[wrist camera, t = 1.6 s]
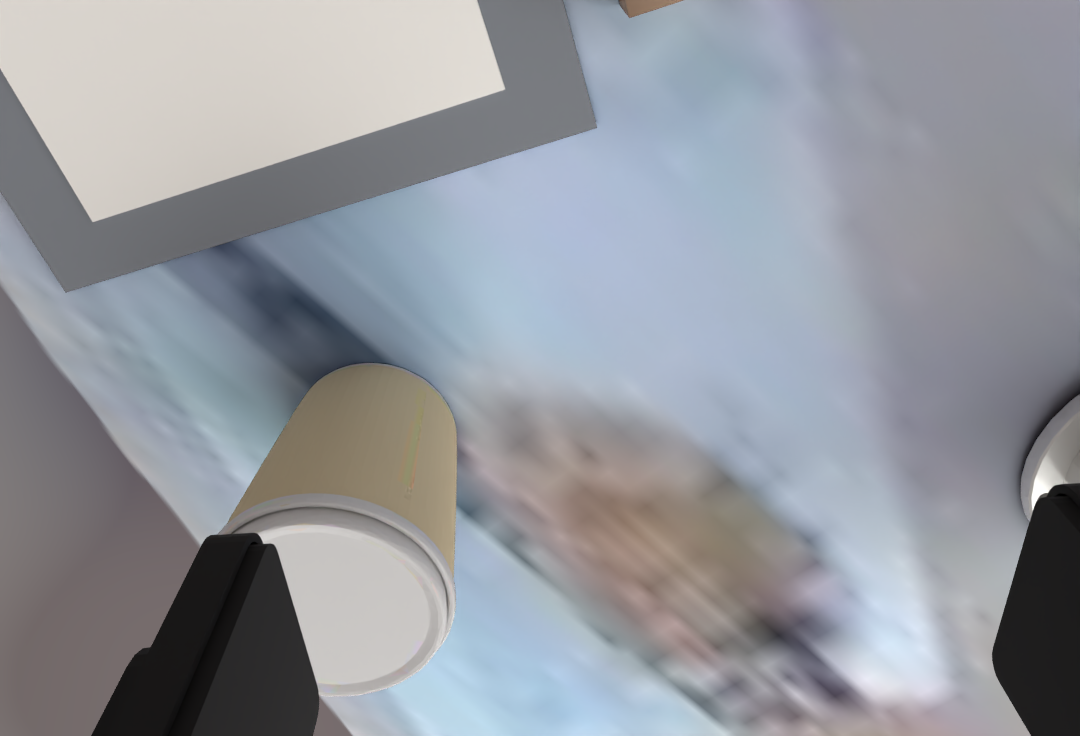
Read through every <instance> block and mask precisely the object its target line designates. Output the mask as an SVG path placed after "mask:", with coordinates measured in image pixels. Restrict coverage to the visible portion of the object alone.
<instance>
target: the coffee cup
mask: <svg viewBox="0 0 1080 736" xmlns="http://www.w3.org/2000/svg"><path fill="white" fill-rule="evenodd" d="M456 478H457V438H456V426H455V421H454V418H453V415H452V413H451V410H450V408H449V406H448V404H447V403H446V401H445V400H444V398H443V397H442V395H441V394H440V393H439V392H438V391H437V390H436V389H435V388H434V387H433V386H432V385H431V384H429V383H428V382H427V381H426V380H424V379H423V378H421V377H419V376H418V375H416V374H414V373H412V372H410V371H408V370H406V369H403V368H400V367H396V366H393V365H389V364H381V363H361V364H354V365H349V366H346V367H342V368H339V369H337V370H335V371H333V372H331V373H329V374H327V375H326V376H324V377H323V378H321V379H320V380H318V381H317V382H316V383H315V384H314V385H313V386H312V387H311V388H310V390H309V391H308V392H307V393H306V395H305V396H304V398H303V399H302V401H301V402H300V404H299V405H298V407H297V408H296V410H295V411H294V413H293V415H292V416H291V418H290V419H289V421H288V423H287V424H286V426H285V428H284V429H283V431H282V433H281V434H280V436H279V437H278V439H277V441H276V442H275V444H274V446H273V447H272V449H271V450H270V452H269V454H268V455H267V457H266V459H265V460H264V462H263V464H262V465H261V467H260V469H259V470H258V472H257V474H256V475H255V477H254V479H253V480H252V482H251V484H250V485H249V487H248V489H247V490H246V492H245V494H244V495H243V497H242V499H241V500H240V502H239V504H238V505H237V507H236V509H235V510H234V512H233V514H232V516H231V517H230V519H229V521H228V523H227V524H226V525H225V526H224V528H223V529H222V530H221V531H220V532H219V533H218V535H223V534H239V533H257V534H258V535H259V536H260V537H261V539H262V542H263V544H269V543H271V544H274V545H275V547H276V549H277V551H278V554H279V558H280V561H281V564H282V568H283V571H284V574H285V578H286V581H287V585H288V588H289V591H290V595H291V598H292V601H293V605H294V608H295V612H296V615H297V618H298V622H299V625H300V629H301V632H302V635H303V639H304V642H305V645H306V649H307V652H308V656H309V659H310V662H311V666H312V669H313V672H314V676H315V679H316V683H317V686H318V691H319V696H356V695H362V694H368V693H372V692H376V691H380V690H383V689H386V688H389V687H392V686H394V685H396V684H399V683H401V682H402V681H404V680H406V679H408V678H409V677H411V676H412V675H414V674H415V673H417V672H418V671H419V670H420V669H421V668H423V667H424V666H425V665H426V664H427V663H428V661H429V660H430V659H431V658H432V657H433V655H434V654H435V653H436V651H437V650H438V649H439V648H440V647H441V645H442V644H443V642H444V641H445V639H446V638H447V636H448V634H449V632H450V629H451V626H452V623H453V620H454V615H455V609H456V592H455V583H454V579H453V577H454V554H455V522H456Z"/></svg>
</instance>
